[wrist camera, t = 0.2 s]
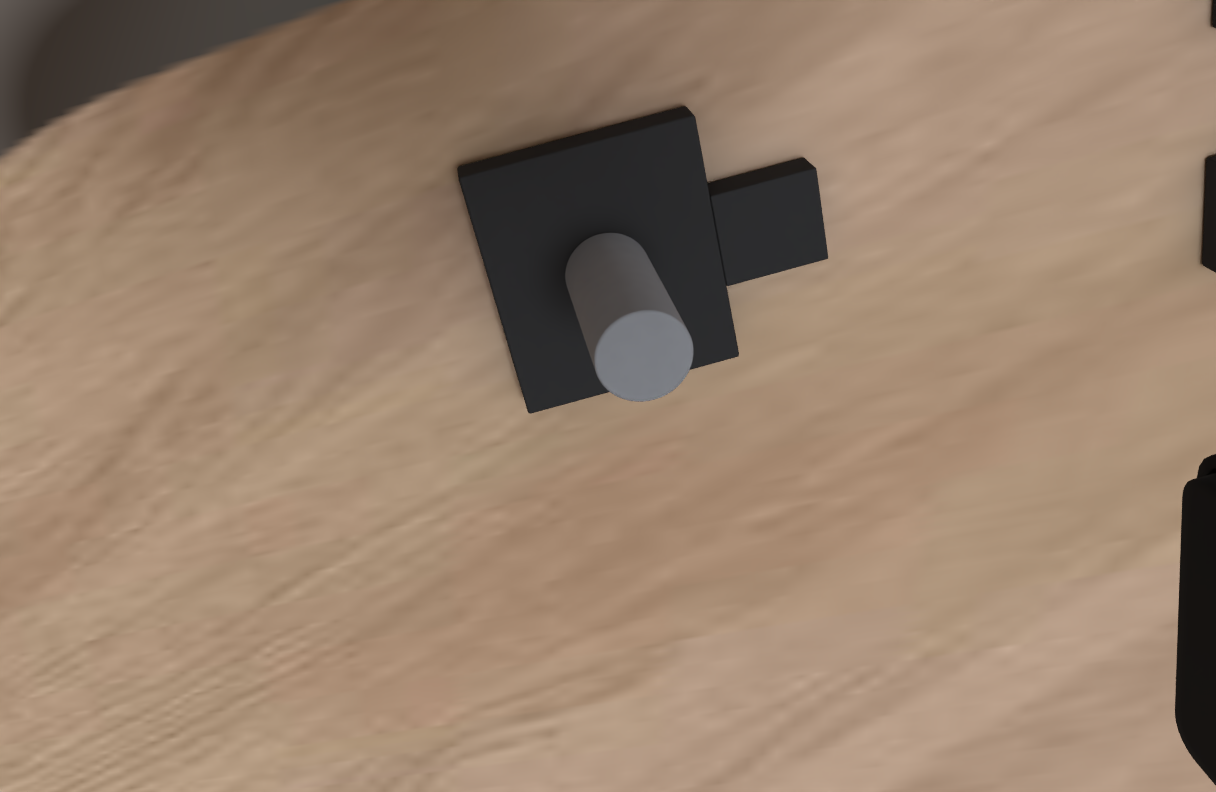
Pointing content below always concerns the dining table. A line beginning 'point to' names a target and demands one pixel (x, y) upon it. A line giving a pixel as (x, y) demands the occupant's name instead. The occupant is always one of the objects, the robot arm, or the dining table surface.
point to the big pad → (1210, 204)
